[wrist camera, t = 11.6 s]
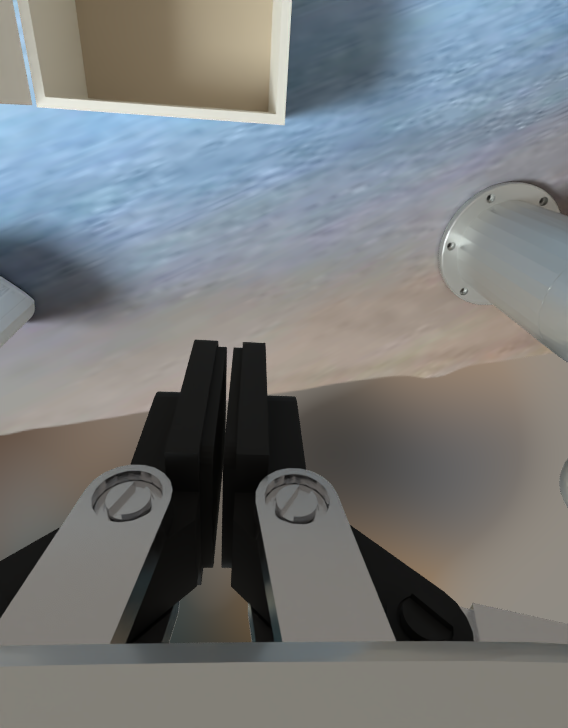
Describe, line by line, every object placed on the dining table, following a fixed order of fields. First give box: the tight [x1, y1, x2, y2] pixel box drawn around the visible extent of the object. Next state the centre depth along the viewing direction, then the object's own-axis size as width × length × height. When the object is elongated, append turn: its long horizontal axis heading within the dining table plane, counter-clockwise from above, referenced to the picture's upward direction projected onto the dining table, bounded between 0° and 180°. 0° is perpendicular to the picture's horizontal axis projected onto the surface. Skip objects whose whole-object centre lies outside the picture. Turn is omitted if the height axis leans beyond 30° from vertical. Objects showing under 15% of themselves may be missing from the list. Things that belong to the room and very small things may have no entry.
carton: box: [17, 0, 292, 125], centre depth 30 cm, size 16×12×10 cm
